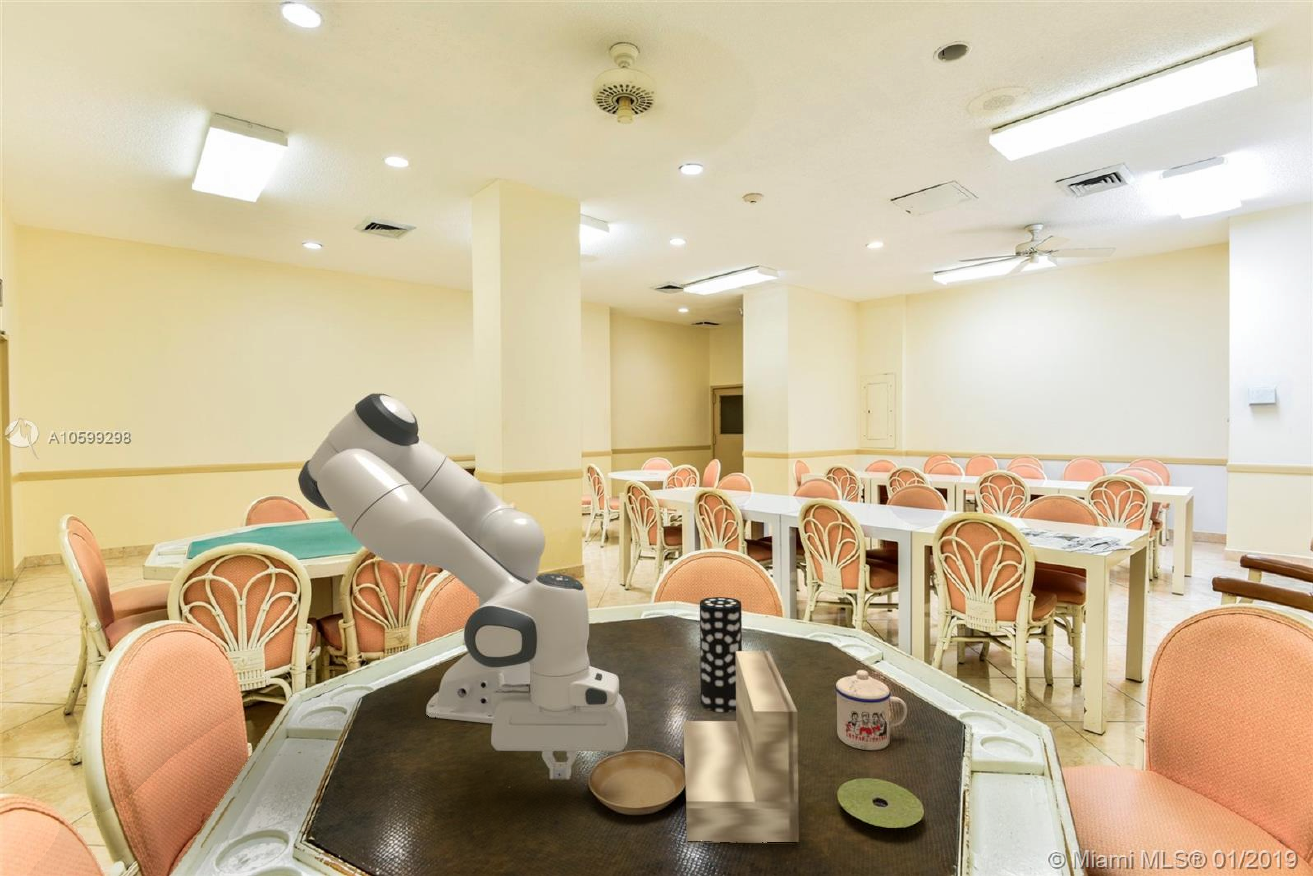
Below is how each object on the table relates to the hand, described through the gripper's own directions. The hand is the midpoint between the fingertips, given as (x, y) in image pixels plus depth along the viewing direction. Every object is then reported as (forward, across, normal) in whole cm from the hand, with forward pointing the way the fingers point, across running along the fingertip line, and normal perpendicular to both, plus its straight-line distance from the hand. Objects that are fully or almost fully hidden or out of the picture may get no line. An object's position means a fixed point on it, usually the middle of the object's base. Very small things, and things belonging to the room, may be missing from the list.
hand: (560, 777), depth 88 cm
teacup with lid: (+2, +52, +16) cm, 54 cm away
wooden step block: (+2, +26, 0) cm, 26 cm away
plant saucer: (+3, +12, 0) cm, 12 cm away
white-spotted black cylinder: (+2, +26, +30) cm, 40 cm away
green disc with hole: (+2, +46, -5) cm, 46 cm away
